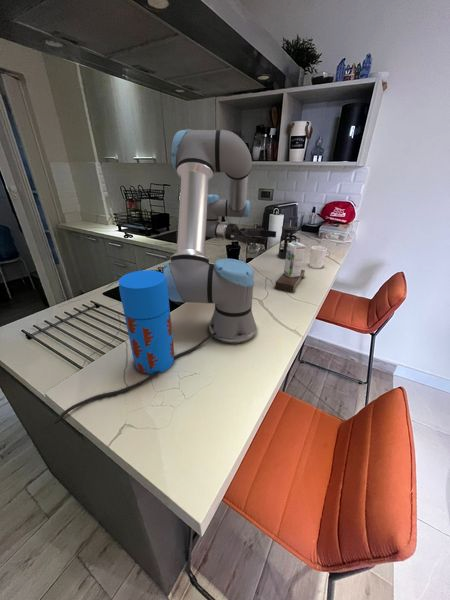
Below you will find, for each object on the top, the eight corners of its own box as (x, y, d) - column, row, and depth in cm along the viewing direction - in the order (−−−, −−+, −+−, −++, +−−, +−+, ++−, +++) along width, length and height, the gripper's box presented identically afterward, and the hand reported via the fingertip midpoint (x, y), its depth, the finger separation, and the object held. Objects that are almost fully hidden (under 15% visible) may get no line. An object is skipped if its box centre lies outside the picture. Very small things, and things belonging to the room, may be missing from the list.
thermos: (158, 343, 78) (148, 266, 66) (182, 358, 72) (175, 277, 60) (127, 362, 71) (108, 279, 59) (150, 381, 65) (135, 293, 53)
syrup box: (282, 273, 120) (287, 242, 113) (294, 271, 121) (298, 241, 114) (289, 277, 115) (293, 246, 108) (300, 276, 117) (306, 245, 110)
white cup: (321, 263, 141) (325, 246, 137) (324, 269, 134) (328, 250, 130) (306, 263, 142) (309, 245, 137) (309, 268, 135) (312, 250, 130)
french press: (274, 257, 150) (279, 216, 139) (279, 252, 157) (284, 214, 146) (294, 260, 145) (300, 219, 134) (298, 256, 152) (305, 216, 141)
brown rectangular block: (292, 292, 110) (293, 285, 108) (274, 288, 113) (275, 281, 111) (303, 276, 125) (305, 270, 123) (287, 273, 128) (288, 267, 127)
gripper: (239, 234, 133) (278, 239, 124) (214, 245, 113) (259, 253, 104) (239, 219, 129) (280, 224, 120) (214, 228, 110) (260, 235, 101)
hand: (270, 237), depth 112 cm, fingers open, 13 cm apart
